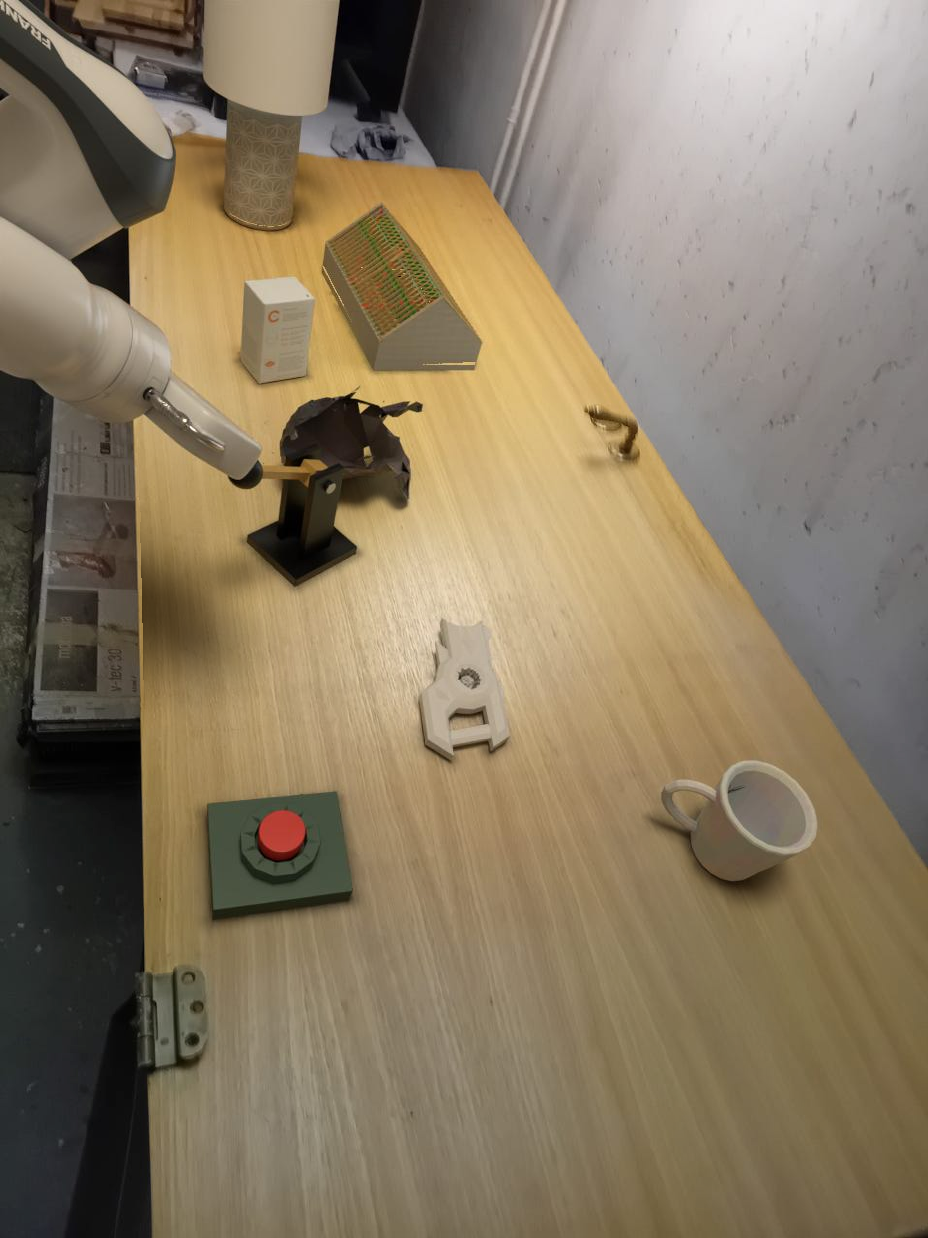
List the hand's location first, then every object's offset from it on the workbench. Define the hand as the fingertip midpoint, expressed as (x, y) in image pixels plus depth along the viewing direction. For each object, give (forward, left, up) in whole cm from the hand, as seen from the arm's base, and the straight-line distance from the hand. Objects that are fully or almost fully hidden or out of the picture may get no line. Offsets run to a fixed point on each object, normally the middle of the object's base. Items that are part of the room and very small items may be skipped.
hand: (213, 424), depth 76 cm
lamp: (+14, +95, -24) cm, 99 cm away
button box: (+5, -33, -24) cm, 41 cm away
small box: (+12, +45, -24) cm, 52 cm away
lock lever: (+7, +4, -11) cm, 13 cm away
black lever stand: (+12, +7, -24) cm, 27 cm away
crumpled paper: (+18, +20, -24) cm, 36 cm away
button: (+5, -33, -20) cm, 39 cm away
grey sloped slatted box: (+35, +63, -24) cm, 76 cm away
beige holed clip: (+27, -16, -24) cm, 39 cm away
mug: (+50, -37, -24) cm, 66 cm away
